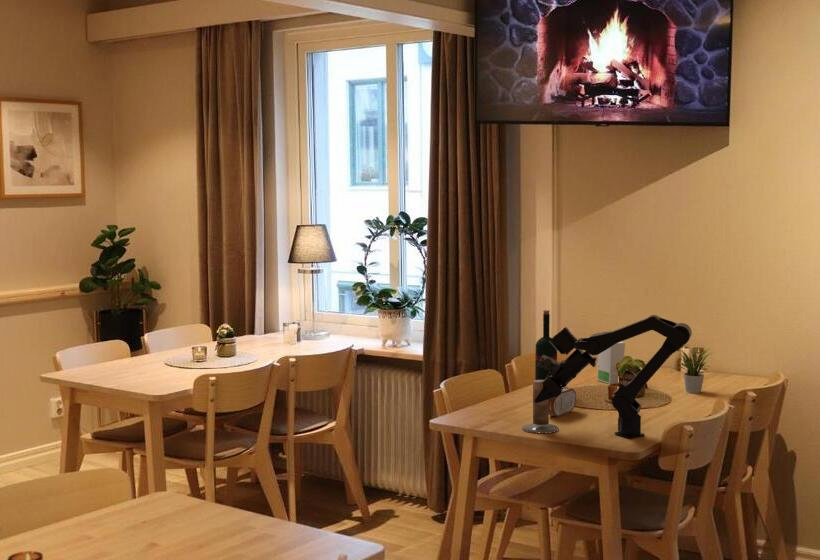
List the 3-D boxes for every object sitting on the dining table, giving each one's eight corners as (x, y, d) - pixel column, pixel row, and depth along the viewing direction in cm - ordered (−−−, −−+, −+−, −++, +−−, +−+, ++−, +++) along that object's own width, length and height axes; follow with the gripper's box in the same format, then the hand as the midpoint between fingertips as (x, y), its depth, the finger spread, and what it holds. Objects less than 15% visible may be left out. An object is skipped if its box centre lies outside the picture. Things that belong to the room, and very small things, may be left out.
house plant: (721, 389, 371) (722, 344, 369) (713, 397, 359) (714, 350, 357) (681, 386, 377) (682, 342, 376) (672, 393, 365) (673, 348, 363)
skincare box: (596, 380, 389) (597, 339, 387) (611, 378, 392) (611, 338, 390) (610, 384, 382) (610, 343, 380) (624, 382, 384) (625, 341, 383)
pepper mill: (551, 423, 316) (551, 381, 314) (539, 425, 313) (539, 383, 312) (542, 420, 320) (542, 379, 318) (529, 422, 317) (529, 381, 316)
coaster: (565, 430, 315) (565, 428, 315) (536, 435, 309) (536, 433, 309) (543, 423, 324) (543, 421, 324) (515, 427, 319) (515, 426, 319)
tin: (569, 409, 343) (569, 384, 342) (577, 410, 341) (578, 385, 340) (545, 418, 331) (545, 392, 330) (553, 419, 329) (554, 393, 328)
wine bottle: (562, 392, 369) (563, 309, 366) (552, 397, 360) (552, 312, 357) (542, 390, 373) (542, 307, 370) (531, 395, 364) (531, 311, 361)
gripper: (557, 341, 322) (522, 375, 326) (549, 352, 304) (512, 387, 308) (582, 367, 321) (547, 401, 325) (576, 379, 303) (539, 414, 307)
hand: (536, 400), depth 316 cm, fingers closed on pepper mill, 5 cm apart
